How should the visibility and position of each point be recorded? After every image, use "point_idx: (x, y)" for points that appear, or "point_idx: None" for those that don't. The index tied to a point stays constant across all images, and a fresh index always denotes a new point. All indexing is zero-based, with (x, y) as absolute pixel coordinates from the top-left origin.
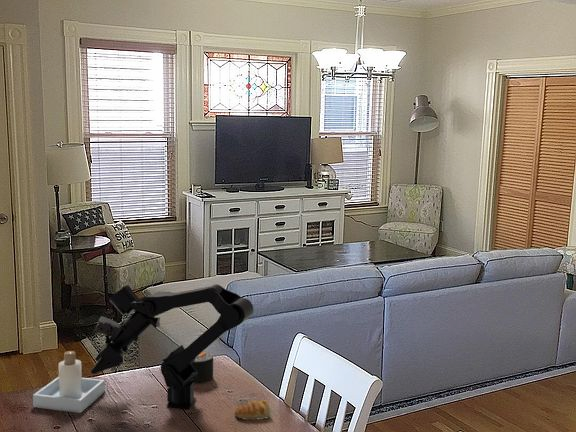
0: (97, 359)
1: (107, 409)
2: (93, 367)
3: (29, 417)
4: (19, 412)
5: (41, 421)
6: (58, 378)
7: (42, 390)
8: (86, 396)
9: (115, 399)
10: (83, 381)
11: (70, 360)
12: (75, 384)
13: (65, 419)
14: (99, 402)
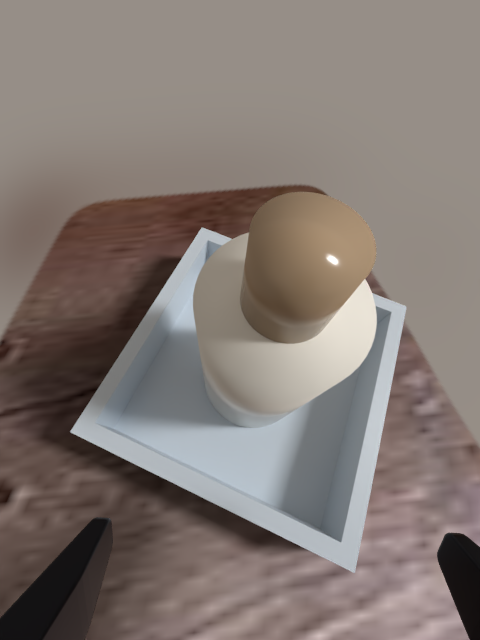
0: (451, 562)
1: None
2: (82, 565)
3: (124, 256)
4: (173, 227)
5: (75, 293)
6: None
7: None
8: (131, 462)
9: (215, 636)
10: (360, 423)
11: (246, 285)
12: (209, 385)
13: (55, 376)
14: (193, 527)
